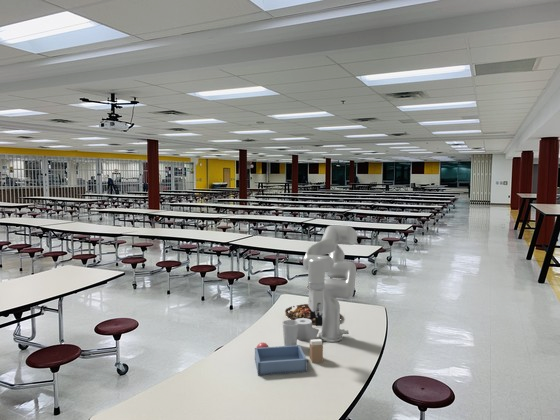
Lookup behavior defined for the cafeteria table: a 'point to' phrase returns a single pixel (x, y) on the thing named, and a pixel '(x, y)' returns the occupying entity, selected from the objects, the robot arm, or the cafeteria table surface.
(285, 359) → the tub
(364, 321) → the cafeteria table surface
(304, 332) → the toilet tissue
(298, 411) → the cafeteria table surface
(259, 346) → the red glossy sphere
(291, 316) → the food dish
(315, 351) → the brown and white block
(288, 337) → the cup
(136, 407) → the cafeteria table surface
